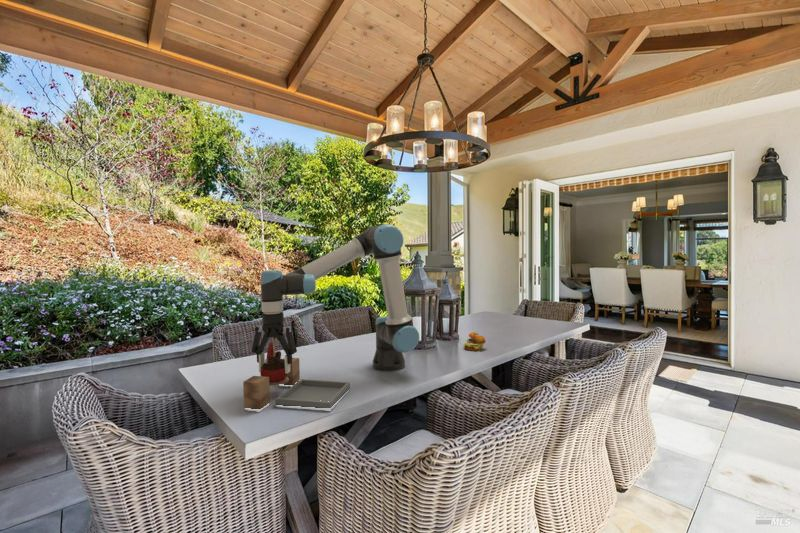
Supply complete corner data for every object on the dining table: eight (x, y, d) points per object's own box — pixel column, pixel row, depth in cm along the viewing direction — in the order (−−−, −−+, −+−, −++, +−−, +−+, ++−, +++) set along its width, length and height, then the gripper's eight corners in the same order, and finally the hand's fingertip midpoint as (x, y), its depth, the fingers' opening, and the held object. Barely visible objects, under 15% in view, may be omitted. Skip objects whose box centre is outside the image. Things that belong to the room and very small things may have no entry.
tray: (349, 389, 147) (349, 382, 147) (330, 411, 127) (330, 403, 127) (301, 386, 151) (301, 379, 151) (275, 407, 131) (275, 398, 131)
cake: (283, 388, 137) (281, 338, 136) (257, 388, 137) (255, 338, 136) (292, 377, 147) (290, 331, 146) (268, 378, 148) (266, 332, 147)
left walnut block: (269, 405, 133) (269, 376, 133) (260, 412, 127) (259, 382, 127) (254, 403, 134) (253, 375, 134) (244, 410, 128) (243, 381, 128)
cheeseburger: (462, 346, 211) (466, 328, 210) (481, 351, 210) (486, 333, 209) (463, 350, 201) (467, 332, 200) (483, 356, 200) (487, 337, 199)
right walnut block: (299, 382, 156) (299, 358, 155) (292, 387, 150) (292, 362, 149) (286, 381, 157) (285, 357, 156) (278, 386, 151) (278, 361, 151)
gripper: (305, 310, 142) (307, 369, 143) (251, 310, 146) (253, 367, 148) (296, 314, 135) (298, 376, 136) (239, 313, 139) (241, 373, 140)
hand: (274, 371), depth 142 cm, fingers closed on cake, 10 cm apart
